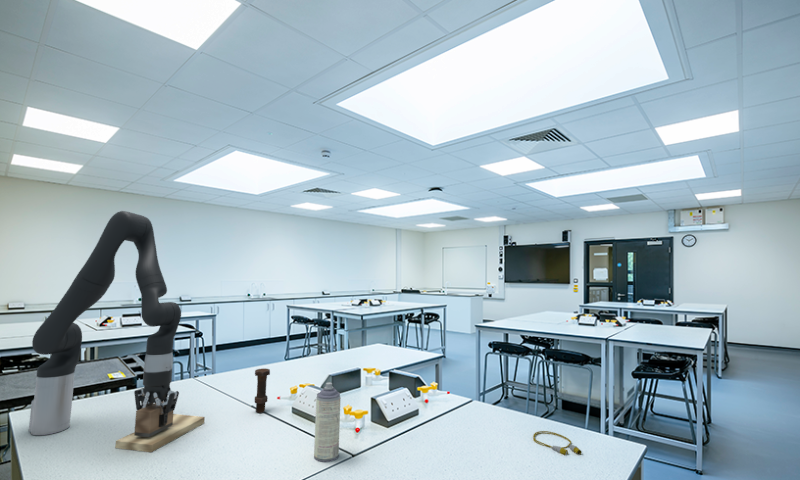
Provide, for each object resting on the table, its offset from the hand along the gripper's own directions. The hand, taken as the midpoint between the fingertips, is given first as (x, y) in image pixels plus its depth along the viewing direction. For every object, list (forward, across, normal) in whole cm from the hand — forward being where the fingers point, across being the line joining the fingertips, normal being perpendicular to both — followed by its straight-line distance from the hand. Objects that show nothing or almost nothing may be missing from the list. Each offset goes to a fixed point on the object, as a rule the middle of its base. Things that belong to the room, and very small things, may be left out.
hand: (154, 425), depth 117 cm
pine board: (+4, 0, +4) cm, 6 cm away
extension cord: (+5, +120, +26) cm, 123 cm away
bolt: (+4, +18, +29) cm, 35 cm away
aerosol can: (+5, +54, +2) cm, 55 cm away
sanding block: (+1, 0, 0) cm, 1 cm away
